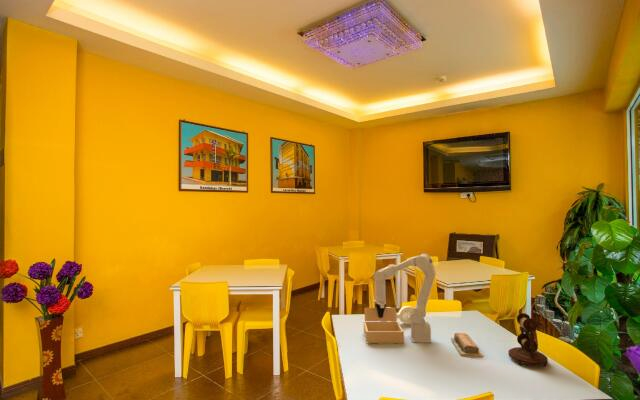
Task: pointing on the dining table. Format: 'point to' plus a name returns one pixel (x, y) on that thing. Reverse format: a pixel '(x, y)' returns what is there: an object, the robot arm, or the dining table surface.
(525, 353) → the brown figurine statuette
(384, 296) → the robot arm
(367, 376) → the dining table surface
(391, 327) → the carton
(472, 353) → the packaged product
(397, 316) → the letter
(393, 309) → the carton flap
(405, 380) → the dining table surface
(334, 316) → the dining table surface
